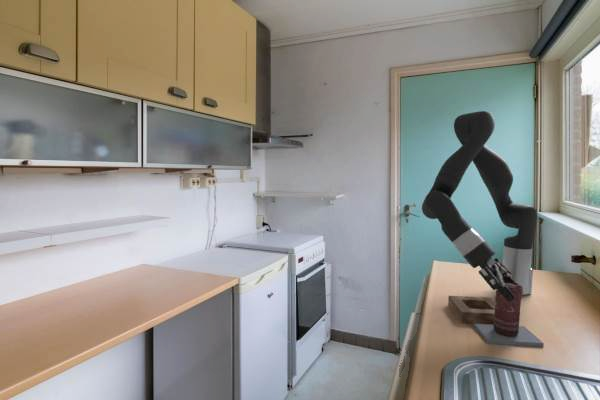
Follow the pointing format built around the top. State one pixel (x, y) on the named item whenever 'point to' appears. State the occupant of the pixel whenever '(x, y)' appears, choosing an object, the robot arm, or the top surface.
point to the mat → (521, 338)
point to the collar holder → (473, 309)
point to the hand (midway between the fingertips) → (515, 295)
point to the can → (508, 311)
